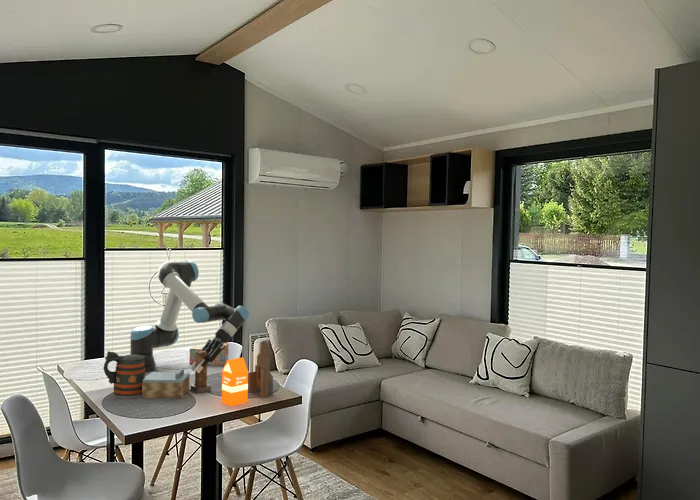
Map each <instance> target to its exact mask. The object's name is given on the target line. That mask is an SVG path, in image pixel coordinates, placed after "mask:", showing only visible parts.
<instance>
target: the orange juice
mask: <svg viewBox="0 0 700 500" xmlns="http://www.w3.org/2000/svg"><path fill="white" fill-rule="evenodd" d="M248 374H249V370H248V368H247V364H246V361H245V359H244V357H237V358H233V359H228V360H227V362H226V364H225V366H224V367H223V368H222V375H221V376H222V377H221V378H222V380H221V403H222V404H224V405H227V406H230V407H234V406H238V405H243V404H246V403H248V398H249V397H248V395H249V394H248V393H249V392H248Z"/></svg>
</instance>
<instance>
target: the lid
mask: <svg viewBox="0 0 700 500" xmlns="http://www.w3.org/2000/svg"><path fill="white" fill-rule="evenodd" d="M190 374H191V373H190V372H189V371H187V372H185V368H183V367H182V368H180V369H178V370H177V371H176V372H174V371H170V372H169V371H162V372H161V371H160V372H159V371H151V372H150V373H149V374H148V375H147V376H145V378H144V379H143V382H150V383H183V382H184V380H185V379H186V378H187V377H188V376H189V377H190Z"/></svg>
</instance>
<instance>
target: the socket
mask: <svg viewBox="0 0 700 500" xmlns="http://www.w3.org/2000/svg"><path fill="white" fill-rule="evenodd" d="M189 390H190V391H191V392H192V393H193V392H194V393H196V394H202V393H203V394H204V393H208V392H212V385H210V384H208V383H207V386H204V387H199V388H198V387H196V386H195V383H194V384H189Z"/></svg>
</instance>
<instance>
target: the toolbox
mask: <svg viewBox="0 0 700 500" xmlns="http://www.w3.org/2000/svg"><path fill="white" fill-rule="evenodd" d="M189 390H190V375H189V376H188V377H187V378H186V379H185V380H184V382H183V383H150V382H143V383H142V393H141V395H142V396H141V397H142V398H143V399H146V398H147V399H152V398H153V399H159V398H160V399H183V398H184V396H185V395H186V393H188V391H189ZM166 397H167V398H166Z"/></svg>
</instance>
